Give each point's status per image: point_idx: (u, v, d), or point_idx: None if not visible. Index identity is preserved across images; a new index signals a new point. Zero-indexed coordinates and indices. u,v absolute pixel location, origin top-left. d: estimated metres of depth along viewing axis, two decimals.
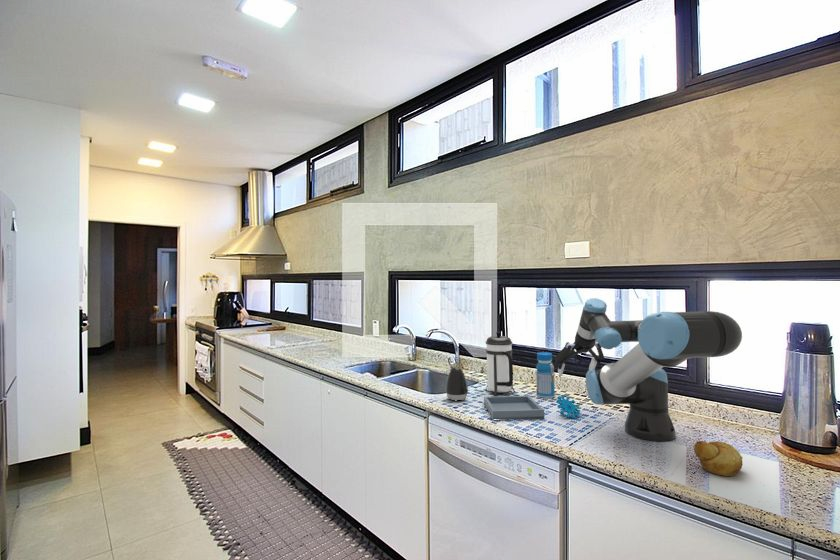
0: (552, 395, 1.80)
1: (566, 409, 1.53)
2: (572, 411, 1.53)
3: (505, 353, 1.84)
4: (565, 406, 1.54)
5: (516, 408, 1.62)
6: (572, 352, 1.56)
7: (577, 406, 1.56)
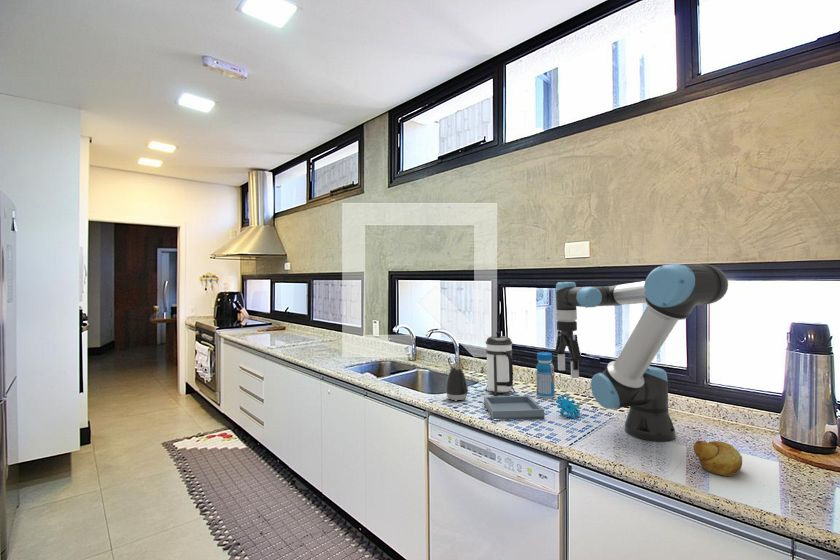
0: (552, 395, 1.80)
1: (566, 409, 1.53)
2: (572, 411, 1.53)
3: (505, 353, 1.84)
4: (565, 406, 1.54)
5: (516, 408, 1.62)
6: None
7: (577, 406, 1.56)
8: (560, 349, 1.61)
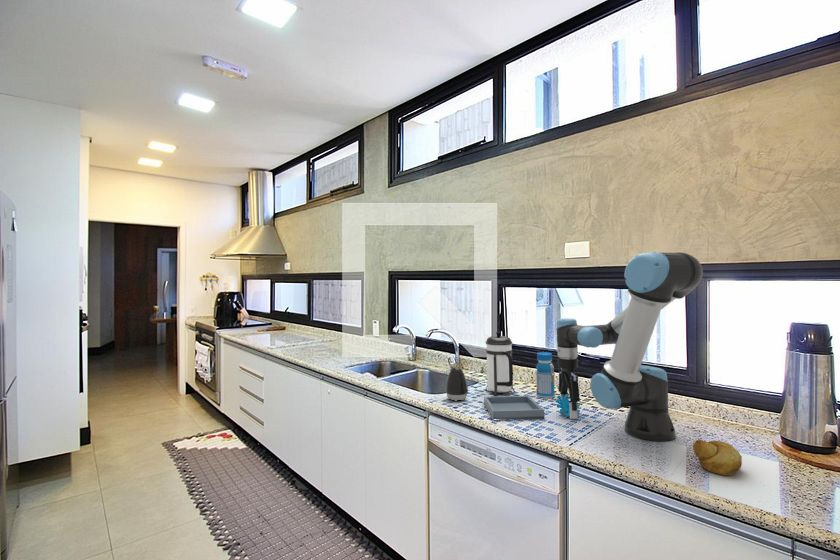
0: (552, 395, 1.80)
1: (565, 409, 1.53)
2: None
3: (505, 353, 1.84)
4: (564, 406, 1.54)
5: (516, 408, 1.62)
6: None
7: (577, 406, 1.56)
8: (563, 388, 1.59)
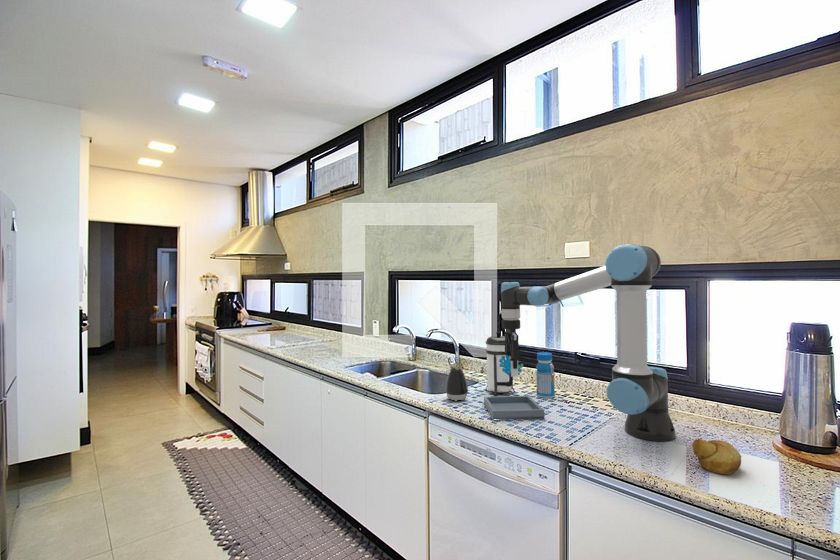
0: (552, 395, 1.80)
1: (507, 368, 1.60)
2: None
3: None
4: (507, 365, 1.61)
5: (516, 408, 1.62)
6: None
7: (520, 366, 1.63)
8: (507, 350, 1.66)
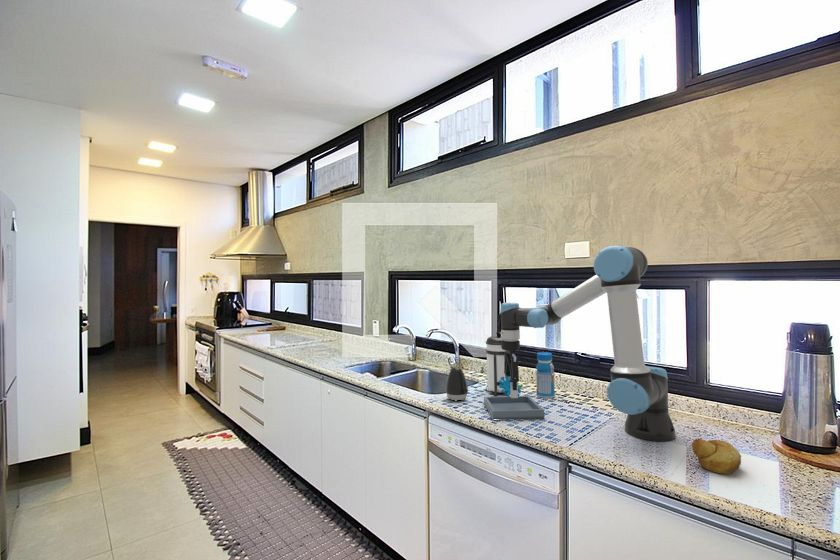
0: (552, 395, 1.80)
1: (507, 389, 1.60)
2: None
3: None
4: (506, 386, 1.61)
5: (516, 408, 1.62)
6: None
7: (519, 386, 1.63)
8: (507, 370, 1.66)
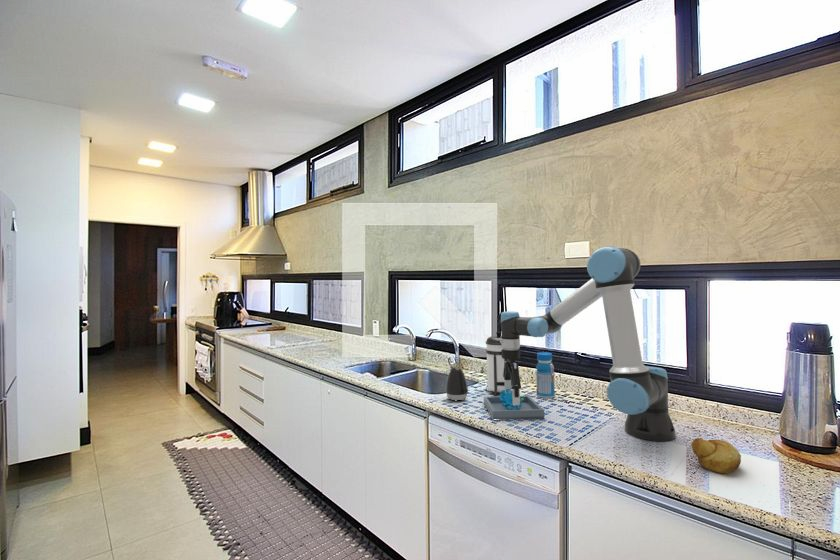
0: (552, 395, 1.80)
1: (507, 402, 1.60)
2: None
3: None
4: (507, 399, 1.61)
5: None
6: None
7: (520, 400, 1.63)
8: (506, 375, 1.68)
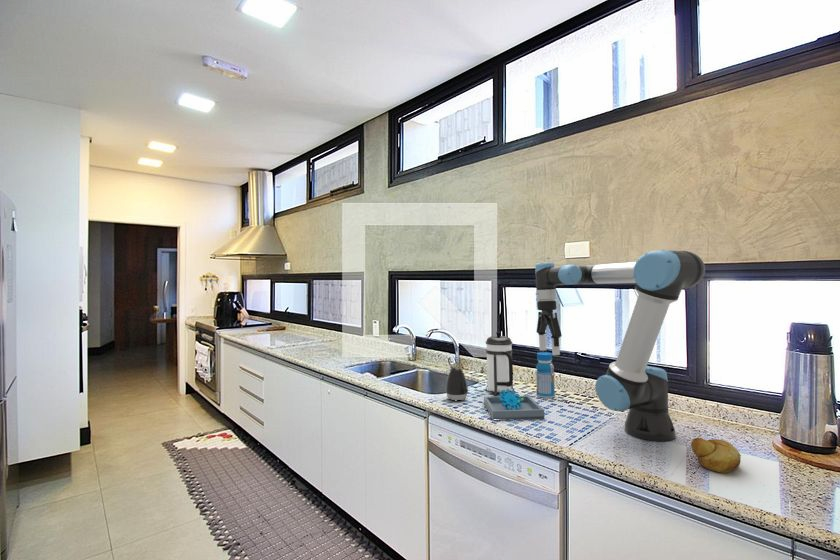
0: (552, 395, 1.80)
1: (507, 402, 1.60)
2: (513, 404, 1.60)
3: (505, 353, 1.84)
4: (507, 399, 1.61)
5: None
6: None
7: (520, 400, 1.63)
8: (541, 329, 1.65)
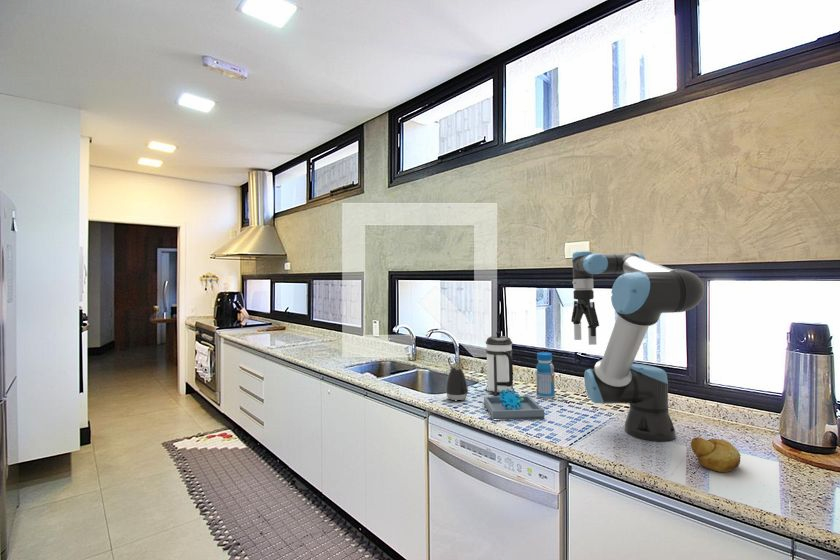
0: (552, 395, 1.80)
1: (507, 402, 1.60)
2: (513, 404, 1.60)
3: (505, 353, 1.84)
4: (507, 399, 1.61)
5: None
6: None
7: (520, 400, 1.63)
8: (576, 319, 1.63)
